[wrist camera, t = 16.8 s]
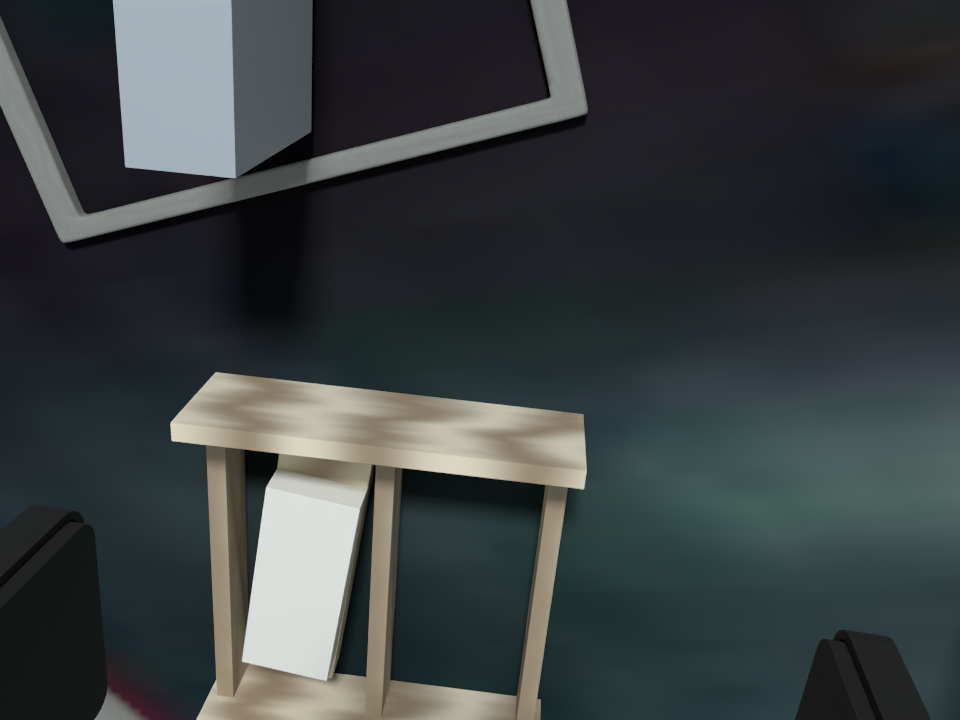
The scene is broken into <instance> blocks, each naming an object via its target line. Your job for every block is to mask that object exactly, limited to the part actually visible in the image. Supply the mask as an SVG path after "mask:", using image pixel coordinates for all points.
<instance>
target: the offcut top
mask: <svg viewBox="0 0 960 720" xmlns="http://www.w3.org/2000/svg"><path fill="white" fill-rule="evenodd" d="M366 494H367V489H366V488H362V487H358V486H353V485H349V484H345V483H340V482H336V481H332V480H327V479H323V478H319V477H315V476H310V475H306V474H302V473H297V472H293V471H289V470H284V469H280V468H277V469H276V471H275V473H274V475H273V476H272V478H271V480H270V481H269V483H268V485H267V487H266V492H265V499H264V506H263V513H262V520H261V527H260V535H259V542H258V549H257V556H256V563H255V570H254V577H253V585H252V592H251V599H250V606H249V613H248V620H247V627H246V635H245V642H244V649H243V656H242V662H246V663H250V664H254V665H259V666H263V667H267V668H272V669H276V670H280V671H285V672H289V673H293V674H298V675H302V676H306V677H311V678H315V679H319V680H324V681H327V678H328V675H329V672H330V669H331V666H332V663H333V660H334V657H335V653H336V648H337V643H338V637H339V632H340V627H341V622H342V617H343V612H344V607H345V602H346V596H347V591H348V586H349V581H350V576H351V571H352V566H353V561H354V555H355V550H356V545H357V540H358V535H359V530H360V525H361V520H362V515H363V509H364V504H365V499H366Z"/></svg>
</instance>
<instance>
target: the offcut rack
mask: <svg viewBox="0 0 960 720" xmlns="http://www.w3.org/2000/svg"><path fill="white" fill-rule="evenodd" d="M171 438H172V441H177V442H185V443H194V444H202V445H206V453H207V475H208V498H209V521H210V544H211V566H212V589H213V612H214V634H215V657H216V681H215V683H214V685H213V687H212V689H211V691H210V693H209V695H208V697H207V699H206V701H205V703H204V705H203V708H202V710H201V712H200V714H199V716H198V718H197V720H540V712H541V699H537V695H538V688H539V682H540V675H541V668H542V661H543V654H544V647H545V641H546V634H547V627H548V620H549V613H550V607H551V600H552V593H553V586H554V579H555V572H556V566H557V559H558V552H559V545H560V538H561V532H562V525H563V518H564V511H565V504H566V497H567V491H568V488H577V489H584V485H585V479H586V473H587V468H586V451H585V434H584V417H583V414H577V413H568V412H560V411H551V410H542V409H533V408H525V407H516V406H507V405H498V404H489V403H481V402H472V401H463V400H454V399H446V398H437V397H428V396H419V395H410V394H402V393H393V392H384V391H375V390H367V389H358V388H349V387H340V386H331V385H323V384H314V383H305V382H296V381H288V380H279V379H270V378H261V377H252V376H244V375H235V374H226V373H217V372H215V374H214V375H213V376H212V377H211V378H210V379H209V380H208V381H207V382H206V384H205V385H204V386H203V387H202V388H201V389H200V390H199V391H198V393H197V394H196V395H195V396H194V397H193V398H192V399H191V400H190V401H189V403H188V404H187V405H186V406H185V407H184V408H183V409H182V410H181V411H180V413H179V414H178V415H177V416H176V417H175V418H174V419H173V420H172V422H171ZM245 450H253V451H262V452H270V453H279V454H287V455H296V456H304V457H313V458H321V459H330V460H338V461H347V462H355V463H364V464H372V465H376V475H375V498H374V520H373V543H372V565H371V588H370V610H369V633H368V655H367V677H362V676H354V675H346V674H338V673H334V674H333V677H332V679H331V678H327V681H324V680H319V679H315V678H311V677H306V676H302V675H298V674H293V673H289V672H285V671H280V670H276V669H272V668H267V667H263V666H259V665H254V664H250V663H246V662H242V656H243V649H244V642H245V635H246V627H247V620H248V572H247V531H246V489H245ZM403 468H406V469H415V470H424V471H432V472H441V473H449V474H458V475H466V476H475V477H483V478H492V479H500V480H509V481H517V482H526V483H534V484H543V485H545V491H544V499H543V506H542V513H541V521H540V528H539V536H538V543H537V551H536V558H535V565H534V573H533V580H532V588H531V595H530V603H529V610H528V617H527V625H526V632H525V640H524V647H523V655H522V662H521V670H520V677H519V684H518V692H517V696H510V695H502V694H495V693H487V692H479V691H471V690H463V689H455V688H448V687H440V686H432V685H424V684H416V683H408V682H401V681H393V680H390V676H391V659H392V642H393V625H394V608H395V591H396V574H397V557H398V540H399V523H400V506H401V488H402V471H403Z"/></svg>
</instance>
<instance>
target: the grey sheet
mask: <svg viewBox="0 0 960 720" xmlns="http://www.w3.org/2000/svg"><path fill="white" fill-rule="evenodd" d="M312 2H313V0H113V7H114V20H115V34H116V47H117V61H118V74H119V88H120V101H121V115H122V128H123V142H124V155H125V167H130V168H139V169H149V170H159V171H169V172H179V173H188V174H198V175H208V176H218V177H228V178H237V177H239V176H240V175H242V174H243V173H245V172H247V171H248V170H250V169H252V168H253V167H255V166H256V165H258V164H260V163H261V162H263V161H265V160H266V159H268V158H269V157H271V156H273V155H274V154H276V153H278V152H279V151H281V150H282V149H284V148H286V147H287V146H289V145H291V144H292V143H294V142H295V141H297V140H299V139H300V138H302V137H303V136H305V135H307V134H308V133H310V132H311V101H312Z"/></svg>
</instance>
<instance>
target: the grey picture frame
mask: <svg viewBox="0 0 960 720" xmlns="http://www.w3.org/2000/svg"><path fill="white" fill-rule="evenodd" d="M530 2H531V6H532V11H533V16H534V20H535V25H536V30H537V34H538V39H539V44H540V48H541V53H542V58H543V62H544V67H545V72H546V76H547V81H548V86H549V91H550V97H549V98H547V99H544V100H541V101H537V102H533V103H529V104H525V105H522V106H518V107H514V108H510V109H506V110H502V111H498V112H494V113H490V114H486V115H482V116H478V117H474V118H470V119H466V120H462V121H458V122H454V123H450V124H446V125H442V126H438V127H434V128H430V129H426V130H422V131H418V132H414V133H410V134H406V135H403V136H399V137H395V138H391V139H387V140H383V141H379V142H375V143H371V144H367V145H363V146H359V147H355V148H351V149H347V150H343V151H339V152H335V153H331V154H327V155H323V156H319V157H315V158H311V159H307V160H303V161H299V162H295V163H291V164H288V165H284V166H280V167H276V168H272V169H268V170H264V171H260V172H256V173H252V174H248V175H244V176H240V177H237V178H232V179H228V180H224V181H220V182H216V183H212V184H208V185H204V186H200V187H196V188H192V189H188V190H184V191H180V192H176V193H172V194H169V195H165V196H161V197H157V198H153V199H149V200H145V201H141V202H137V203H133V204H129V205H125V206H121V207H117V208H113V209H109V210H105V211H101V212H97V213H92V214H86V213H84V211H83V209H82V207H81V205H80V202H79V200H78V198H77V195H76V193H75V191H74V188H73V186H72V184H71V181H70V179H69V177H68V174H67V172H66V170H65V167H64V165H63V163H62V160H61V158H60V156H59V153H58V151H57V149H56V146H55V144H54V141H53V139H52V137H51V134H50V132H49V130H48V127H47V125H46V123H45V120H44V118H43V116H42V113H41V111H40V109H39V106H38V104H37V102H36V99H35V97H34V95H33V92H32V90H31V87H30V85H29V83H28V80H27V78H26V76H25V73H24V71H23V69H22V66H21V64H20V62H19V59H18V57H17V55H16V52H15V50H14V48H13V45H12V43H11V41H10V38H9V36H8V34H7V31H6V29H5V26H4V24H3V22H2V19H1V17H0V106H1V108H2V110H3V112H4V115H5V117H6V119H7V121H8V124H9V126H10V128H11V130H12V133H13V135H14V137H15V140H16V142H17V144H18V146H19V149H20V151H21V153H22V155H23V158H24V160H25V162H26V164H27V167H28V169H29V171H30V173H31V176H32V178H33V180H34V182H35V185H36V187H37V189H38V192H39V194H40V196H41V198H42V201H43V203H44V205H45V207H46V210H47V212H48V214H49V216H50V219H51V221H52V223H53V225H54V228H55V230H56V232H57V234H58V236H59V238H60V240H61V241H62V242H63V243H68V242H73V241H77V240H82V239H86V238H90V237H94V236H98V235H102V234H106V233H110V232H114V231H118V230H122V229H126V228H130V227H134V226H139V225H143V224H147V223H151V222H155V221H159V220H163V219H167V218H171V217H175V216H179V215H183V214H187V213H191V212H195V211H199V210H203V209H207V208H211V207H215V206H220V205H224V204H228V203H232V202H236V201H240V200H244V199H248V198H252V197H256V196H260V195H264V194H268V193H272V192H276V191H280V190H284V189H288V188H292V187H297V186H301V185H305V184H309V183H313V182H317V181H321V180H325V179H329V178H333V177H337V176H341V175H345V174H349V173H353V172H357V171H361V170H365V169H369V168H373V167H378V166H382V165H386V164H390V163H394V162H398V161H402V160H406V159H410V158H414V157H418V156H422V155H426V154H430V153H434V152H438V151H442V150H446V149H450V148H455V147H459V146H463V145H467V144H471V143H475V142H479V141H483V140H487V139H491V138H495V137H499V136H503V135H507V134H511V133H515V132H519V131H523V130H527V129H532V128H536V127H540V126H544V125H548V124H552V123H556V122H560V121H564V120H568V119H572V118H575V117H579V116H582V115H585V114H587V112H588V107H587V101H586V96H585V90H584V85H583V80H582V75H581V70H580V65H579V60H578V55H577V50H576V45H575V40H574V36H573V31H572V26H571V21H570V16H569V11H568V6H567V1H566V0H530Z"/></svg>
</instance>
